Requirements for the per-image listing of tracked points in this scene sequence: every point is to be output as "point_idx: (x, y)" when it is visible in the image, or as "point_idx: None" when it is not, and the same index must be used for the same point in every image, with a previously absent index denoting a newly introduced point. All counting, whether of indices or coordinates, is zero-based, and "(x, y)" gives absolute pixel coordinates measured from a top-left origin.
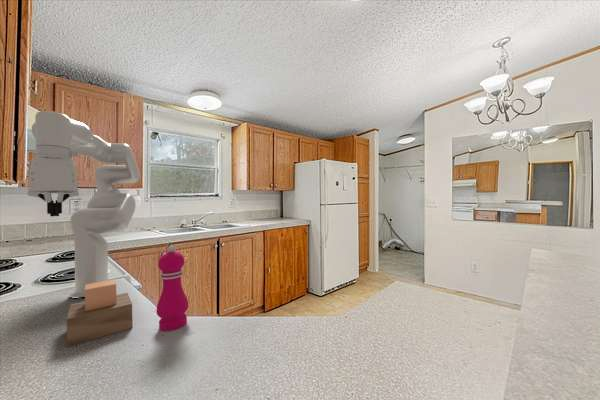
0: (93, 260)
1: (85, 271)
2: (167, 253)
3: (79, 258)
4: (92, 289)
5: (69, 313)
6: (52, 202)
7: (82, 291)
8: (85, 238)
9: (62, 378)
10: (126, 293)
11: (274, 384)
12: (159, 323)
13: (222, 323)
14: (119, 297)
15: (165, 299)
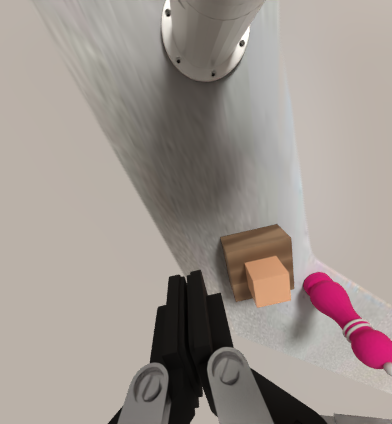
0: (233, 32)
1: (206, 48)
2: (379, 367)
3: (192, 19)
4: (264, 304)
5: (234, 287)
6: (192, 398)
7: (194, 63)
8: None
9: (240, 324)
10: (290, 242)
11: (339, 368)
12: (306, 290)
13: (353, 299)
14: (281, 257)
15: (327, 315)
